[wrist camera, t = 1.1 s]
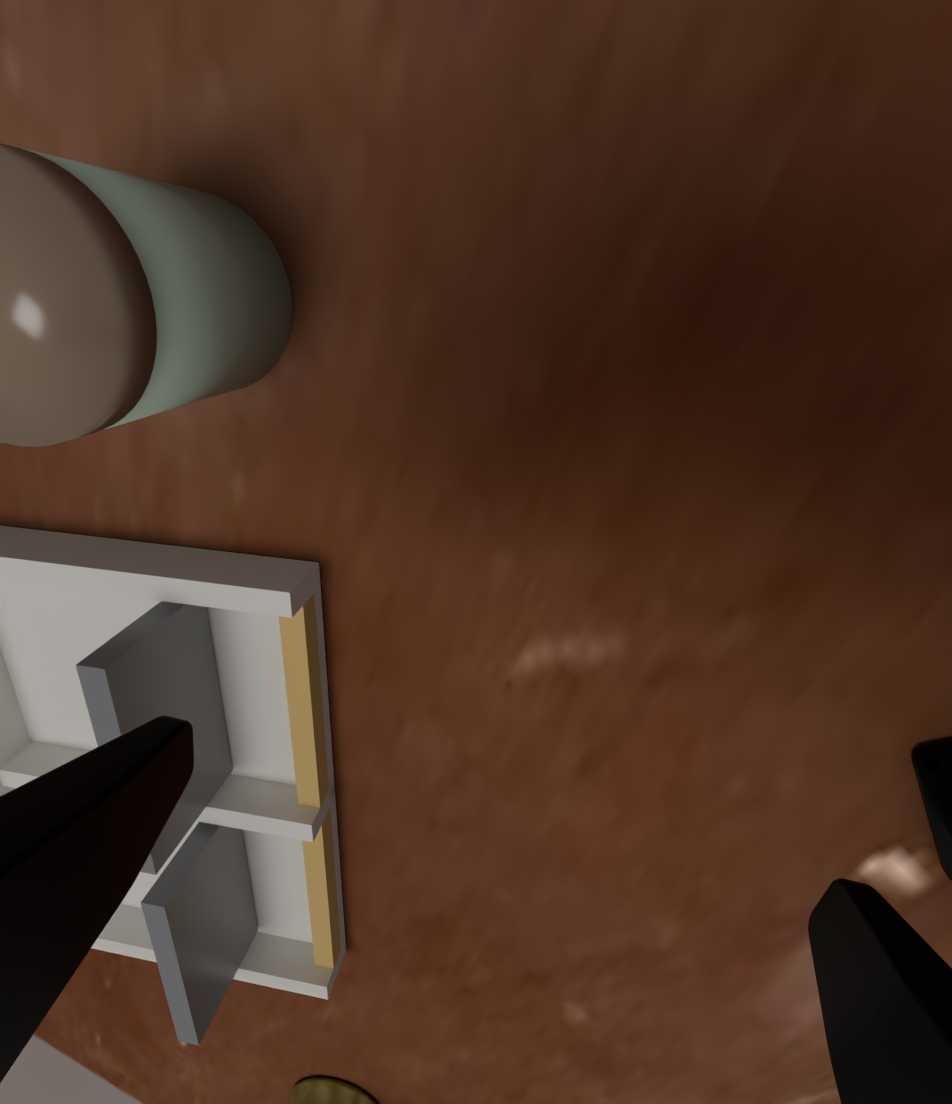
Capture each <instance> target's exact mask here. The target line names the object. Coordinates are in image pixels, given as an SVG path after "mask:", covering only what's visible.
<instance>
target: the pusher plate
mask: <svg viewBox="0 0 952 1104" xmlns="http://www.w3.org/2000/svg"><path fill="white" fill-rule="evenodd" d="M76 669H77V672H78V676H79V679H80V683H81V687H82V690H83V694H84V698H85V701H86V705H87V709H88V712H89V716H90V720H91V723H92V727H93V731H94V734H95V738H96V742H97V745H98V747H99V746H101V745H103V744H105V743H107V742H109V741H111V740H113V739H115V738H117V737H118V736H120V735H122V734H124V733H126V732H128V731H130V730H132V729H134V728H136V727H138V726H140V725H142V724H144V723H146V722H148V721H150V720H152V719H154V718H156V717H159V716H164V715H166V716H171V717H175V718H179V719H183V720H187V721H189V722H190V723H191V724H192V726H193V741H194V768H193V772H192V775H191V778H190V780H189V782H188V784H187V786H186V788H185V790H184V791H183V793H182V795H181V797H180V799H179V801H178V803H177V804H176V806H175V808H174V810H173V812H172V814H171V816H170V817H169V819H168V821H167V823H166V825H165V827H164V829H163V830H162V832H161V834H160V836H159V838H158V840H157V842H156V843H155V845H154V847H153V849H152V851H151V853H150V855H149V856H148V858H147V860H146V862H145V864H144V866H143V868H142V869H141V871H140V872H143V873H149V874H154V875H157V873H158V872H159V870H160V869H161V868H162V866H163V865H164V864H165V862H166V861H167V859H168V858H169V857H170V855H171V854H172V853H173V851H174V850H175V848H176V847H177V846H178V844H179V843H180V842H181V840H182V839H183V838H184V836H185V835H186V833H187V832H188V831H189V829H190V828H191V827H192V825H193V824H194V822H195V821H196V820H197V818H198V817H199V816H200V814H201V813H202V812H203V810H204V809H205V807H206V806H207V805H208V803H209V802H210V801H211V799H212V798H213V796H214V795H215V794H216V792H217V791H218V790H219V788H220V787H221V785H222V784H223V783H224V781H225V780H226V779H227V777H228V776H229V775H230V773H231V772H232V770H233V768H232V761H231V755H230V749H229V743H228V736H227V730H226V724H225V717H224V711H223V705H222V699H221V692H220V686H219V680H218V673H217V667H216V661H215V655H214V648H213V642H212V636H211V630H210V623H209V617H208V611H207V607H204V606H196V605H188V604H181V603H173V602H165V601H161V602H159V603H158V604H157V605H155V606H154V607H153V608H151V609H150V610H149V611H147V612H146V613H145V614H143V615H142V616H141V617H139V618H138V619H137V620H135V621H134V622H133V623H131V624H130V625H128V626H127V627H126V628H124V629H123V630H122V631H120V632H119V633H118V634H116V635H115V636H114V637H112V638H111V639H110V640H108V641H107V642H106V643H104V644H103V645H102V646H100V647H99V648H98V649H96V650H95V651H94V652H92V653H91V654H90V655H88V656H87V657H86V658H84V659H83V660H82V661H80V662H79V663H78V664H76Z"/></svg>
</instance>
